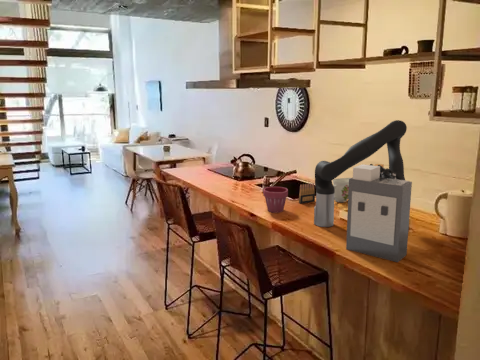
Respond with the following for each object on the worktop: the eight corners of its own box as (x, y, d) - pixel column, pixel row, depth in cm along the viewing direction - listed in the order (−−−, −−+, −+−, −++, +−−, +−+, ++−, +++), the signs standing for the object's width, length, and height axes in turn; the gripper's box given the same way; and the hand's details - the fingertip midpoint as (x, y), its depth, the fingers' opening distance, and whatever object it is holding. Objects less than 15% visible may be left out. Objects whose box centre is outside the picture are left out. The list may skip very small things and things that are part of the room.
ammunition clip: (300, 203, 261) (300, 184, 258) (298, 203, 263) (298, 184, 260) (314, 201, 265) (315, 182, 262) (313, 200, 267) (313, 182, 264)
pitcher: (322, 201, 265) (323, 180, 262) (343, 197, 274) (344, 176, 271) (335, 205, 255) (336, 183, 252) (356, 200, 265) (357, 179, 262)
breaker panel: (344, 250, 187) (347, 178, 180) (356, 242, 196) (359, 174, 189) (396, 263, 173) (401, 186, 166) (406, 254, 181) (411, 181, 174)
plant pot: (292, 211, 245) (292, 190, 242) (271, 215, 239) (271, 193, 236) (279, 205, 257) (279, 185, 254) (259, 209, 251) (258, 188, 248)
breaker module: (352, 179, 181) (353, 167, 180) (371, 171, 195) (372, 161, 194) (370, 181, 176) (371, 169, 175) (388, 173, 190) (389, 162, 189)
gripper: (374, 170, 205) (361, 156, 192) (403, 173, 196) (392, 160, 183) (370, 184, 203) (357, 172, 190) (399, 189, 194) (388, 176, 181)
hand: (374, 166), depth 187 cm, fingers closed on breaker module, 3 cm apart
